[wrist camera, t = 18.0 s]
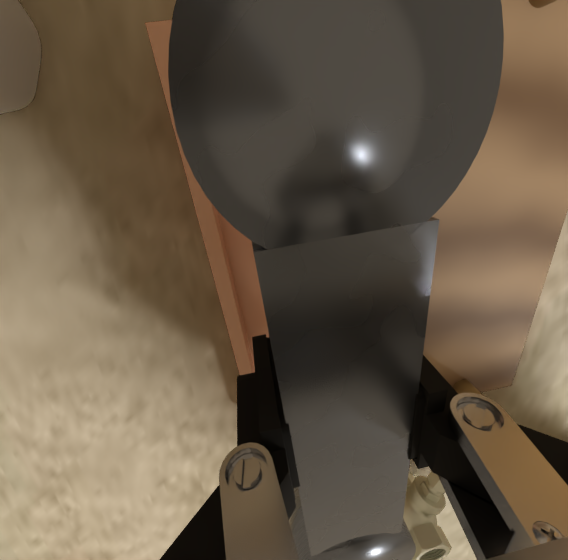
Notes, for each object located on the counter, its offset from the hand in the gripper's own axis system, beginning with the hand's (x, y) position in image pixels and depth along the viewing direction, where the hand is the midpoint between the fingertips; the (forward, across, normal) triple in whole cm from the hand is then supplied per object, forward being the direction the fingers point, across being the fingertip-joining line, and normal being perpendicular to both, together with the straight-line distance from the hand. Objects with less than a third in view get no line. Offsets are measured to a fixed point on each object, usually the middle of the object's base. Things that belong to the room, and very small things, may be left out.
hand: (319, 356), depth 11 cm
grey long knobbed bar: (0, 0, 0) cm, 0 cm away
